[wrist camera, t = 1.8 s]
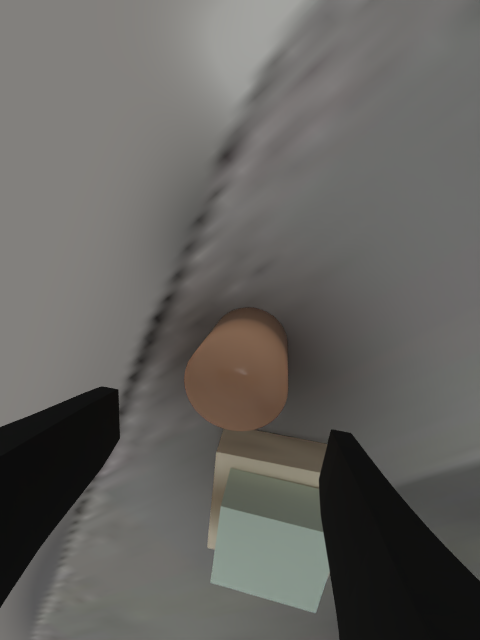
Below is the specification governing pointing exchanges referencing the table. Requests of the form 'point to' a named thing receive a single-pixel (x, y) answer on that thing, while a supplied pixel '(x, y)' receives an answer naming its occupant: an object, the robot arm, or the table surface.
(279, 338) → the terracotta cylinder
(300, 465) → the tower base
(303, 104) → the table surface
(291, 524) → the tower top
